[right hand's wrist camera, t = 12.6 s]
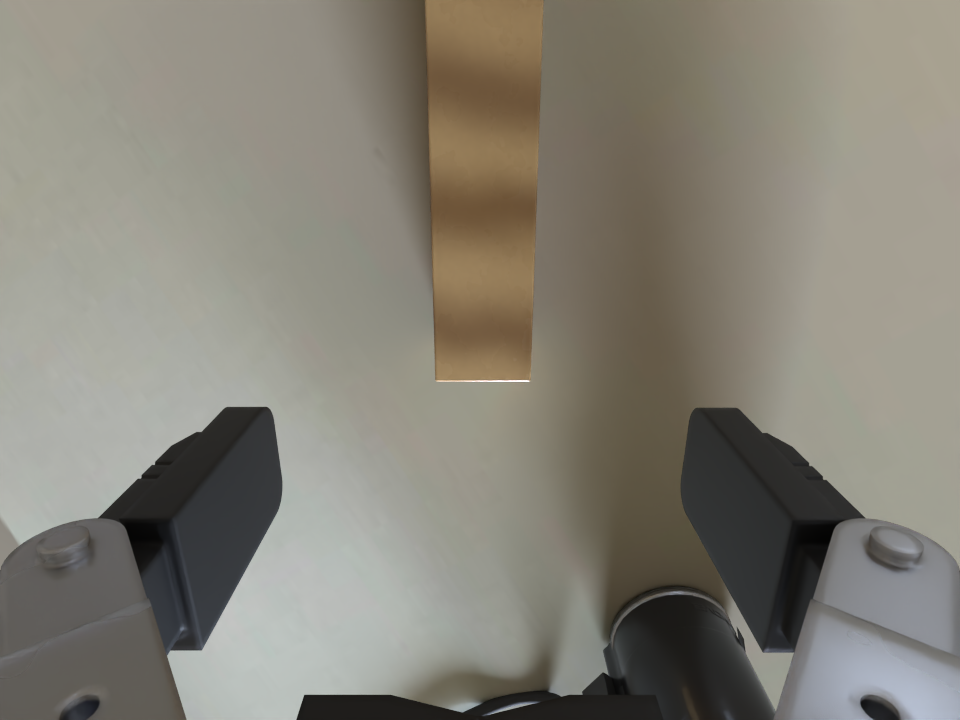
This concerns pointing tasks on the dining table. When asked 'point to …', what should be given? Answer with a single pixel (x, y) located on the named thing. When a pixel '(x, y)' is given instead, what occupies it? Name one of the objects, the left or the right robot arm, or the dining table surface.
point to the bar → (483, 183)
